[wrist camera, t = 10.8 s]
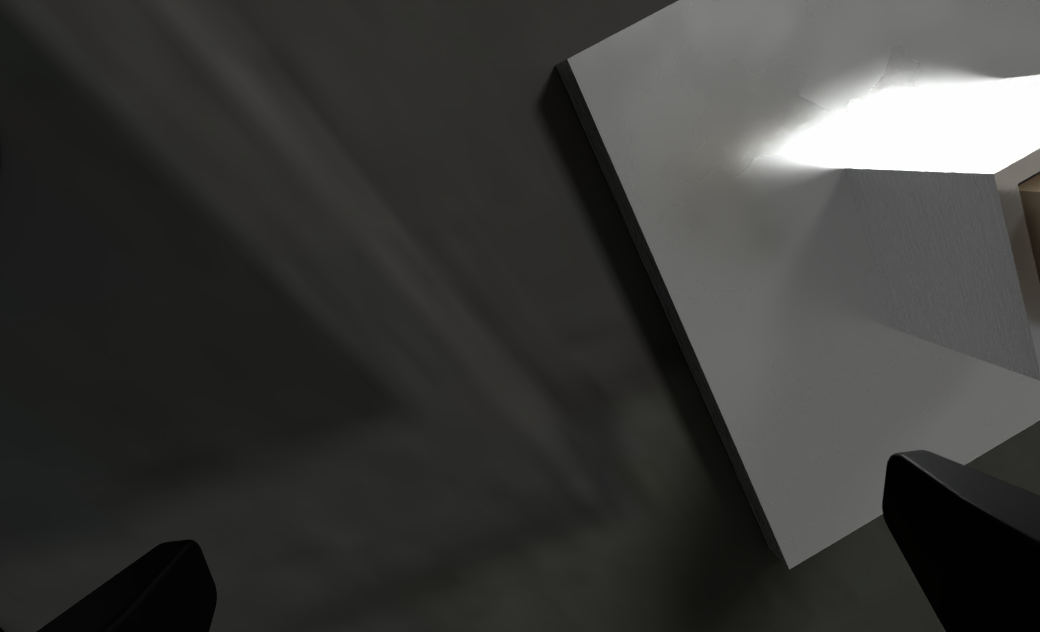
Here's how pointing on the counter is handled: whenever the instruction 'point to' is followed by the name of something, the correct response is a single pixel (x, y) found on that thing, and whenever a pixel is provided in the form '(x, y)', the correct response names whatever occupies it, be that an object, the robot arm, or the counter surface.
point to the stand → (832, 231)
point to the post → (1032, 214)
